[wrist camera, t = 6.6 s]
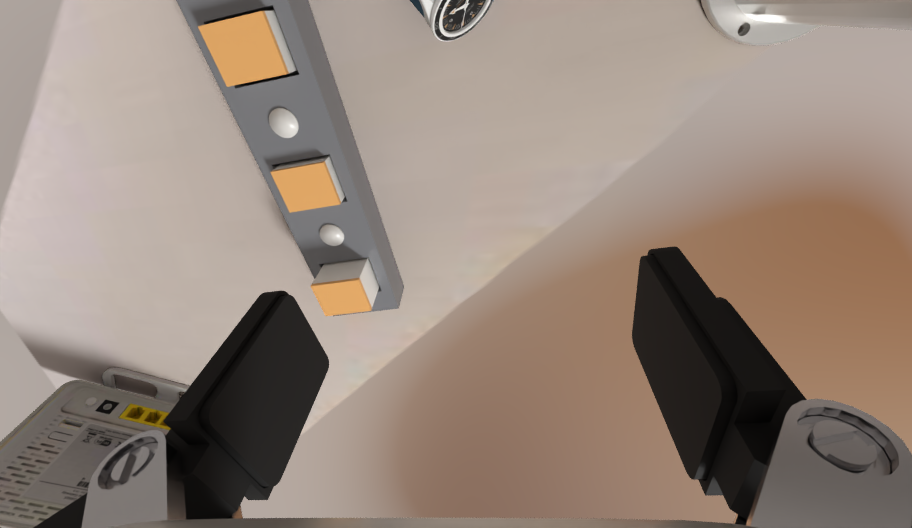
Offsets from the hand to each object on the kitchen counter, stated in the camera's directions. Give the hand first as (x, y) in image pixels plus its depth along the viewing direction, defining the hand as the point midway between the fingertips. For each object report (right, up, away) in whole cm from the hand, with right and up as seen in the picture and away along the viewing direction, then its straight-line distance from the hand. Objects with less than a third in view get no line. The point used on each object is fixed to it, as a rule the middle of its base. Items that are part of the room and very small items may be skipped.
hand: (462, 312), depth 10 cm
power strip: (-13, +11, +28) cm, 33 cm away
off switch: (-12, 0, +31) cm, 33 cm away
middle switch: (-14, +11, +27) cm, 32 cm away
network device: (-47, -20, +51) cm, 72 cm away
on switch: (-16, +19, +21) cm, 32 cm away
